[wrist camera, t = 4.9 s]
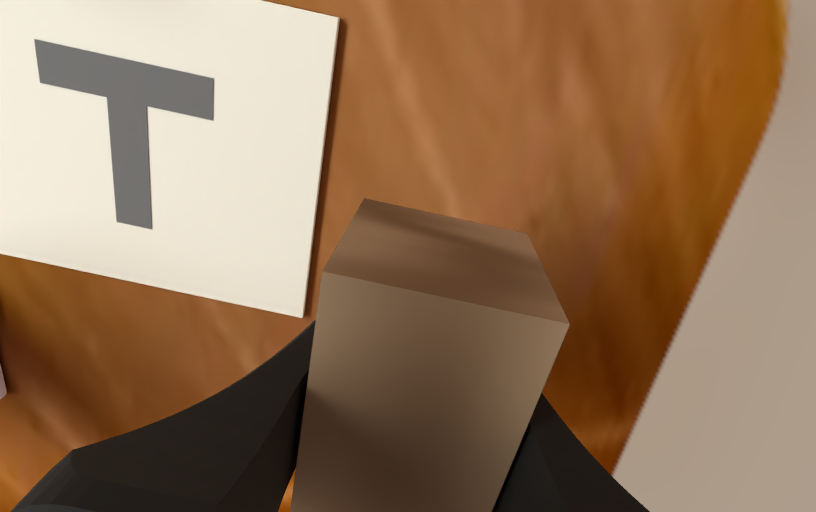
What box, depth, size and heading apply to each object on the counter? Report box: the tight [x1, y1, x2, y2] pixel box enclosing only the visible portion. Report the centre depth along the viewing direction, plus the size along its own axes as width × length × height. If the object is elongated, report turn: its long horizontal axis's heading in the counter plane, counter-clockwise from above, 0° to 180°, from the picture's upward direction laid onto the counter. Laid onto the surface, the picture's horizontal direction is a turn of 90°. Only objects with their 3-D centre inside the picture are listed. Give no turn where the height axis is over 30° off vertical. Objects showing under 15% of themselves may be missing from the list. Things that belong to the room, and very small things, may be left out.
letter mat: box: [0, 0, 340, 318], centre depth 19 cm, size 16×13×1 cm
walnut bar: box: [290, 198, 570, 512], centre depth 12 cm, size 4×8×4 cm, turn 169°
